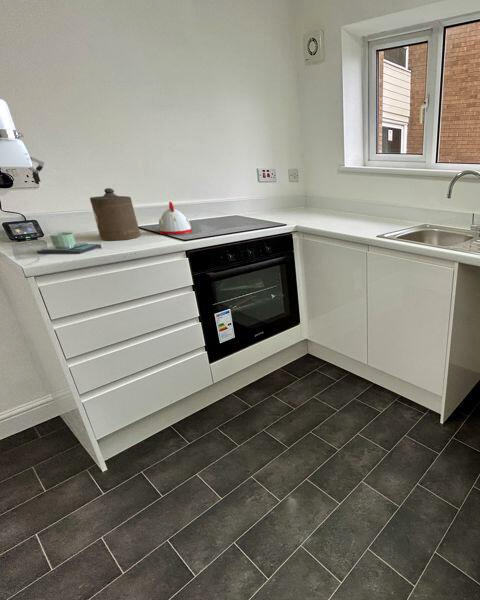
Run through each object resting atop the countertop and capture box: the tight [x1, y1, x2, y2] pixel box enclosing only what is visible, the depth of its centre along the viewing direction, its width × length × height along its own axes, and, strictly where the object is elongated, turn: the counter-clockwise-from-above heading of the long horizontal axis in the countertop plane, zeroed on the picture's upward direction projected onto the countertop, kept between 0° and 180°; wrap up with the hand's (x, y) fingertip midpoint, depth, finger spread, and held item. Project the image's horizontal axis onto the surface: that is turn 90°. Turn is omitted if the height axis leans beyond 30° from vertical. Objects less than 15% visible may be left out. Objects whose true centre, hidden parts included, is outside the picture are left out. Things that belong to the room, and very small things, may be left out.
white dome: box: [158, 201, 193, 236], centre depth 176 cm, size 14×14×15 cm
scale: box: [36, 242, 102, 255], centre depth 134 cm, size 14×12×3 cm
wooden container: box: [89, 187, 141, 241], centre depth 159 cm, size 15×15×22 cm
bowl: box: [49, 231, 78, 248], centre depth 133 cm, size 6×6×5 cm
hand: (20, 184), depth 135 cm, fingers open, 9 cm apart
